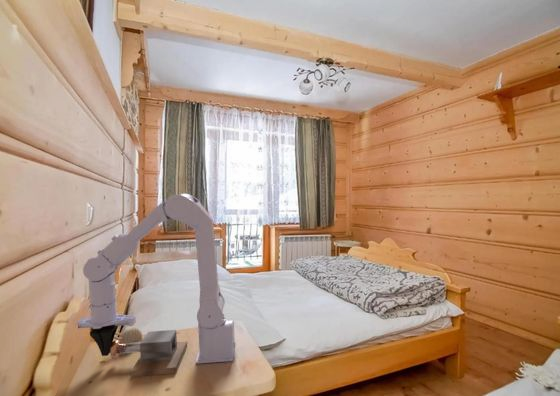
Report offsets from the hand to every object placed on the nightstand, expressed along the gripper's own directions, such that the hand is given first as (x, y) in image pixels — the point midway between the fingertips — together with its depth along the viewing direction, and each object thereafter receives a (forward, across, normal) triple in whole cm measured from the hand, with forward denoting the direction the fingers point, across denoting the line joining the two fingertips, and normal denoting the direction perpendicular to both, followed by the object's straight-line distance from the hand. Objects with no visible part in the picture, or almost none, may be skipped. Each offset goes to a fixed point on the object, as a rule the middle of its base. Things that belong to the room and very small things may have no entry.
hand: (106, 353), depth 77 cm
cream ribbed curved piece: (+3, +2, +8) cm, 9 cm away
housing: (+3, +14, 0) cm, 14 cm away
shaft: (+1, +7, 0) cm, 7 cm away
